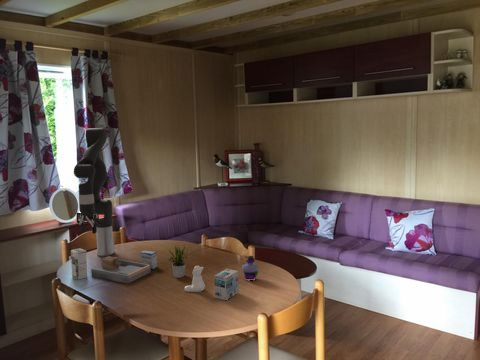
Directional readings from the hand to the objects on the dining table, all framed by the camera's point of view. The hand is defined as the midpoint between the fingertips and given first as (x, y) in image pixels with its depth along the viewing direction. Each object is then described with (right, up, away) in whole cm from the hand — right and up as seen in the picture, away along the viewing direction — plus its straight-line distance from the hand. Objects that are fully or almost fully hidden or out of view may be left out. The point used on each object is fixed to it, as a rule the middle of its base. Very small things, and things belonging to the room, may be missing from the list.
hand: (88, 232), depth 231 cm
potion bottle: (+86, -22, -13) cm, 89 cm away
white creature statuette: (+60, -24, -25) cm, 69 cm away
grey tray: (+18, -21, -4) cm, 28 cm away
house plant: (+50, -22, -7) cm, 55 cm away
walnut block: (+12, -19, -1) cm, 22 cm away
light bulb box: (+74, -25, -32) cm, 85 cm away
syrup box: (-2, -22, -8) cm, 24 cm away
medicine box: (+31, -20, +7) cm, 37 cm away
